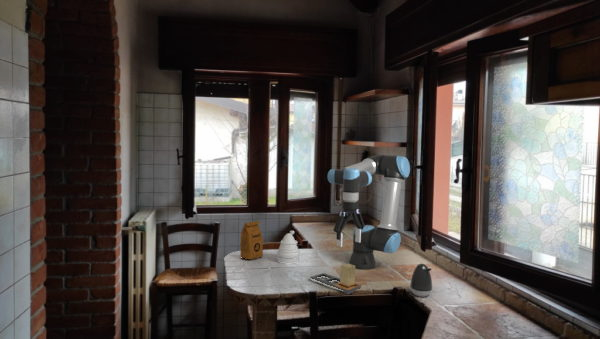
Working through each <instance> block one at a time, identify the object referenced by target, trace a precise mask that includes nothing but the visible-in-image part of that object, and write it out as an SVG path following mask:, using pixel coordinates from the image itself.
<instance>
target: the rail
mask: <svg viewBox="0 0 600 339" xmlns="http://www.w3.org/2000/svg"><path fill="white" fill-rule="evenodd" d="M321 276H325V277H328V278H329V279H323V278H321V279H320V278H317V277H321ZM311 278H312V279H315V280H317V281H320V282H322V283H325V284H327V285H330V286H333V287H336V288H338V289H341V290H343V291H344V293H343V294H346V295H348V294H353V293H355V292H356V291H355V290H357V289H360V288H361V289H362V285H361V284H358V283H357V282H355V286H353V287H350V288H346V287H343V286H340V283H335V282H333V283H331V282H329V281H332V280H337V281H339V282H340V277H337V276H333V275H331V274H328V273H326V272H323V273H320V274H316V275H313V276H310V279H311ZM354 291H355V292H354Z"/></svg>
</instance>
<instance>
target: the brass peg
mask: <svg viewBox="0 0 600 339" xmlns="http://www.w3.org/2000/svg"><path fill="white" fill-rule="evenodd" d="M339 276H340V277H339V278H340V286H343V287H346V288H350V287H353V286H355V283H356V282H355V279H356V278H355V277H356V268H355V265H352V264H349V262H348V263H343V264H340V274H339Z"/></svg>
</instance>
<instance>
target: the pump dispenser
mask: <svg viewBox="0 0 600 339" xmlns="http://www.w3.org/2000/svg"><path fill="white" fill-rule="evenodd" d="M430 271H432V267H428V265H426V264H425V263H419V264H417V265H416V267H415V268H414V270H413V273H412V275H411V279H410V282H409V284H410V285H409V286H410V290H411V292H412V293H413V295H414V296H417V297H422V298H424V297H427V296H429V295H430V294H431V292H432V290H433V280H432V276H431V275H432V274H431V272H430Z"/></svg>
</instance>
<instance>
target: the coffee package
mask: <svg viewBox="0 0 600 339" xmlns="http://www.w3.org/2000/svg"><path fill="white" fill-rule="evenodd" d="M259 225H260V221H259V220H256V221H251V222H245V223H244V225H243V228H241V229H242V230H241V234H240V258H241V257H242V258H241V259H243V258H245V259H244V260H247V259H251V260H255V259H254V258H257V259H259V258H258V257H261V258H263V256H264V250H263V246H264V245H263V244H264V240H263V236H262V232H261V229H260V226H259Z"/></svg>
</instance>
